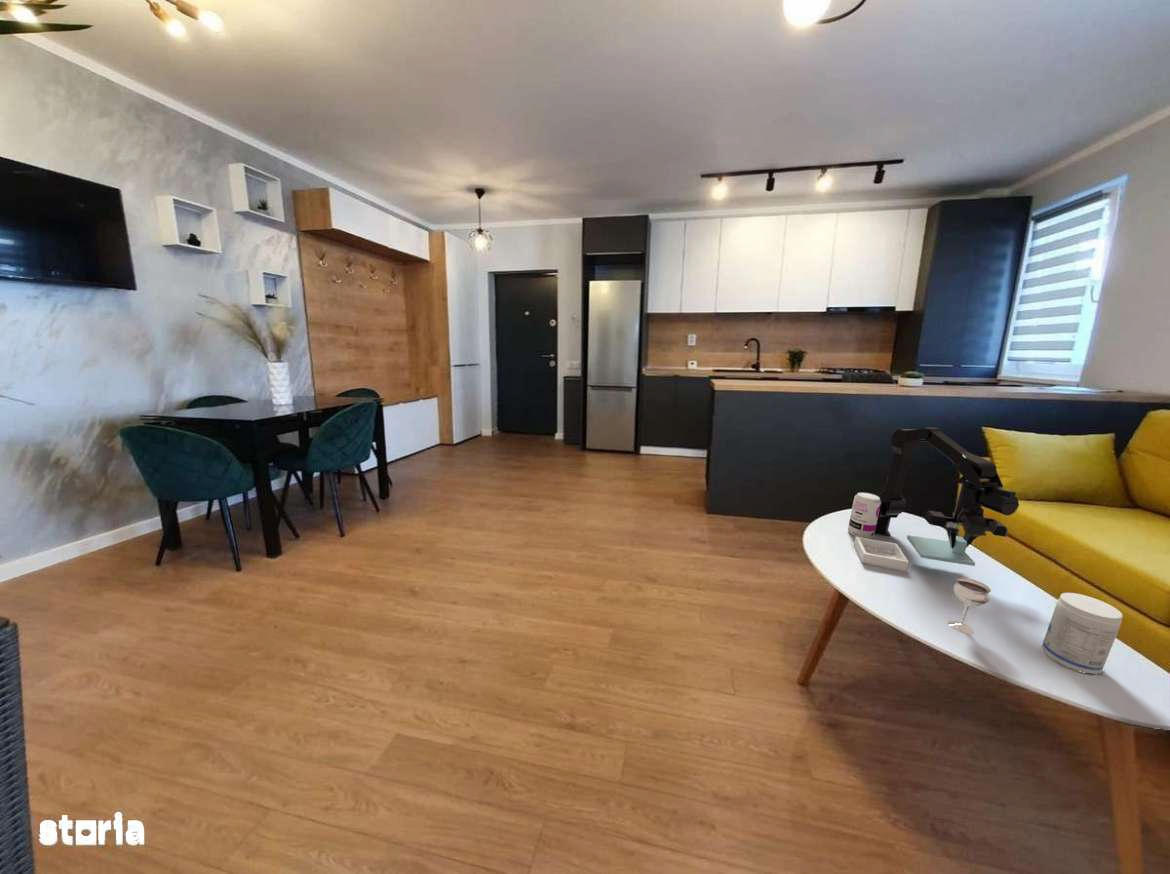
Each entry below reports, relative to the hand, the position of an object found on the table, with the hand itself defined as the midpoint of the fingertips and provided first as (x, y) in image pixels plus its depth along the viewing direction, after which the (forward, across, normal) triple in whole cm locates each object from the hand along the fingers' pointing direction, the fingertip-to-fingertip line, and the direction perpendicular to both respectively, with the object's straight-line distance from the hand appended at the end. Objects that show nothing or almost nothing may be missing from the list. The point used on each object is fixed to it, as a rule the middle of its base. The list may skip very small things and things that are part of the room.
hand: (957, 548), depth 134 cm
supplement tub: (+8, +10, -36) cm, 38 cm away
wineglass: (+8, -8, -32) cm, 34 cm away
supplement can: (+8, -21, +18) cm, 29 cm away
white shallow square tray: (+8, -19, 0) cm, 21 cm away
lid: (+2, -4, 0) cm, 5 cm away
